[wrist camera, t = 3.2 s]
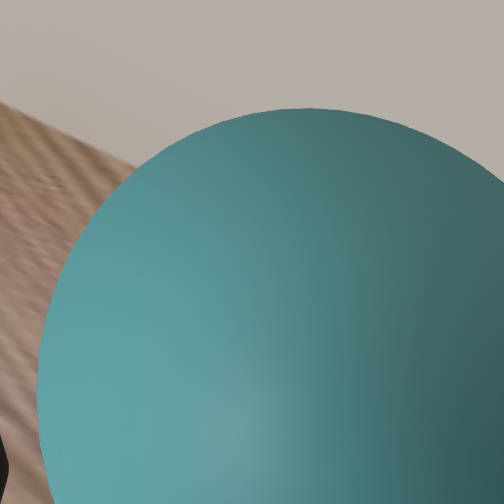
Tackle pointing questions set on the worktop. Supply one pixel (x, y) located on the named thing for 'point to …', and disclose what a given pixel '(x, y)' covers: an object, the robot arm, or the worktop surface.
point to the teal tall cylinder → (283, 323)
